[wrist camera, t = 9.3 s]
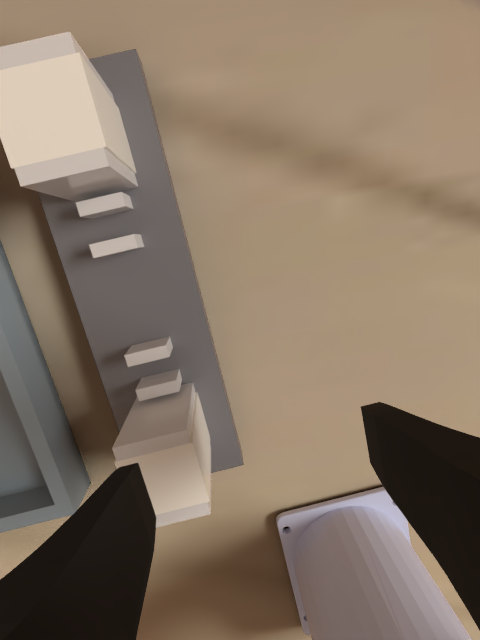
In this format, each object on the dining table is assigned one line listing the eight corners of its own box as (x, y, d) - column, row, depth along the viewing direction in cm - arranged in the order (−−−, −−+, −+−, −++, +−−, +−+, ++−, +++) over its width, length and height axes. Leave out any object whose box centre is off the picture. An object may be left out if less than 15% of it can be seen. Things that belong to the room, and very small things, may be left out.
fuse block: (242, 452, 22) (246, 483, 19) (143, 477, 22) (133, 511, 19) (140, 61, 17) (127, 28, 14) (13, 90, 17) (-24, 62, 14)
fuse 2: (213, 447, 20) (213, 513, 15) (156, 461, 20) (138, 532, 15) (194, 381, 19) (188, 429, 15) (135, 396, 19) (109, 448, 14)
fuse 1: (140, 186, 17) (111, 165, 12) (73, 202, 17) (17, 187, 12) (114, 93, 16) (72, 30, 11) (43, 109, 16) (-29, 53, 11)
